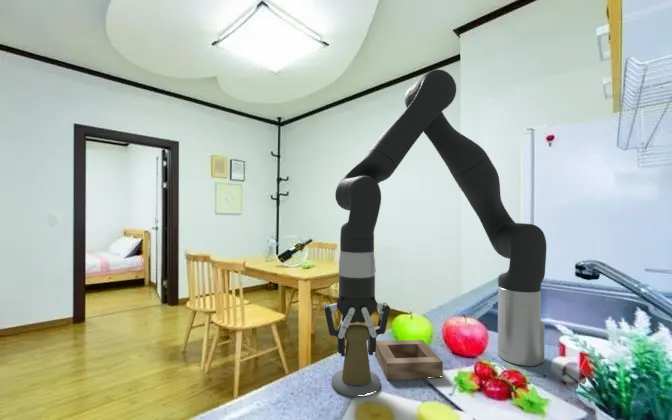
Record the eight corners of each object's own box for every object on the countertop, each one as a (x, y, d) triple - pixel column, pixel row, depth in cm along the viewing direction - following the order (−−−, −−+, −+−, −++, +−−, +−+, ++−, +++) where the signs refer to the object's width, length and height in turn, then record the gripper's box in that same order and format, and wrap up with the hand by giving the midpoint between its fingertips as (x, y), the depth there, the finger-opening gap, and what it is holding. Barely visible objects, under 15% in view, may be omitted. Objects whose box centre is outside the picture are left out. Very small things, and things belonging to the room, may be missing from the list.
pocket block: (422, 353, 83) (422, 339, 83) (442, 377, 71) (442, 361, 71) (375, 355, 82) (375, 341, 82) (387, 380, 70) (387, 363, 70)
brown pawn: (370, 371, 71) (370, 320, 71) (371, 386, 65) (371, 330, 65) (342, 370, 71) (342, 319, 72) (341, 384, 65) (341, 329, 66)
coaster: (374, 371, 74) (374, 367, 74) (385, 395, 64) (385, 391, 64) (329, 372, 73) (329, 369, 73) (333, 398, 63) (333, 393, 63)
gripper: (386, 269, 73) (385, 346, 73) (321, 269, 71) (321, 348, 71) (395, 275, 65) (395, 361, 65) (323, 276, 64) (322, 364, 64)
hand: (356, 353), depth 68 cm, fingers open, 5 cm apart
